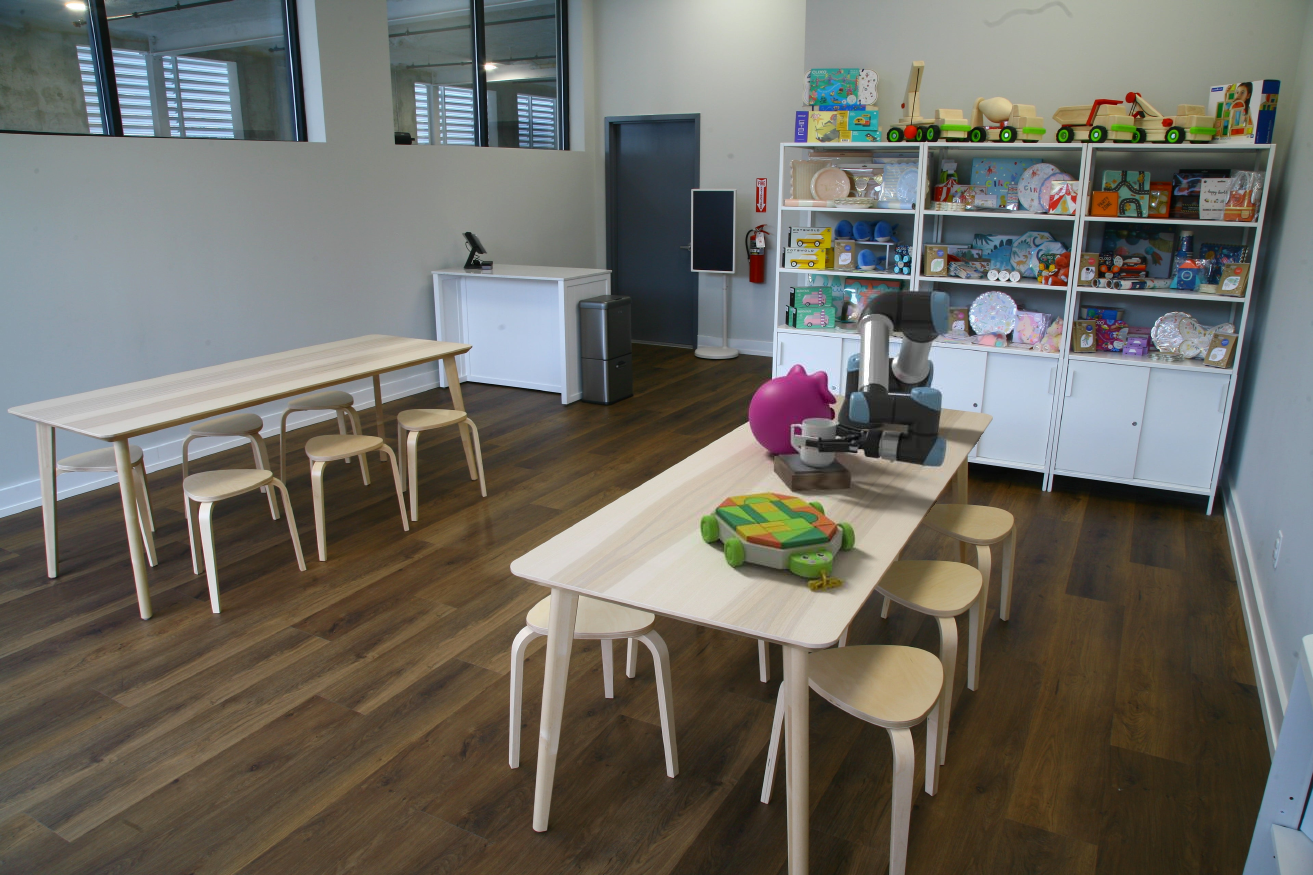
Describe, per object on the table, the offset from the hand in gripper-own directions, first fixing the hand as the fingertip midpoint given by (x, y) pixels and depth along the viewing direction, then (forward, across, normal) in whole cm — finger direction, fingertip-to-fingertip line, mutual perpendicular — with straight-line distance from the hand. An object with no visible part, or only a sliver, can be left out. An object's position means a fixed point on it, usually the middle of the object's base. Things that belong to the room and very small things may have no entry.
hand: (801, 433), depth 227 cm
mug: (-3, 0, -8) cm, 8 cm away
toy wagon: (-9, -46, -13) cm, 48 cm away
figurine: (+9, +19, -13) cm, 25 cm away
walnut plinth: (-3, 0, -12) cm, 13 cm away
